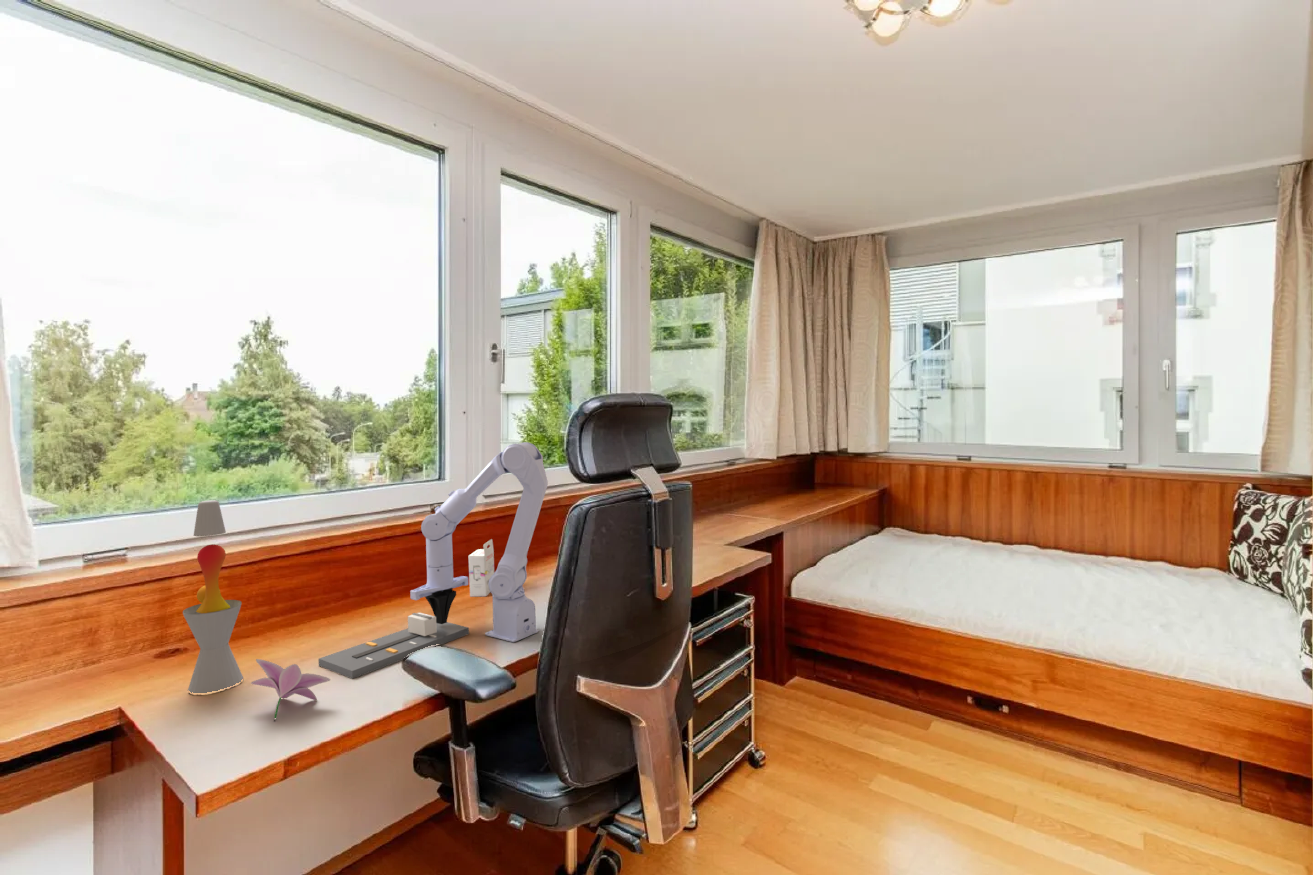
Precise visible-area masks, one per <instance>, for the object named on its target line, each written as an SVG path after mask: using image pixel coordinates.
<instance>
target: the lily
mask: <svg viewBox="0 0 1313 875" xmlns="http://www.w3.org/2000/svg"><path fill="white" fill-rule="evenodd" d="M255 661H256V663H257V665H259V667H260V668H261V669H262V670H263V672H264V673H265V675H266V677H263V678H258V679H256V680H253V681H252V682H250V684H251V685H255V686H261V687H267V688H272V689H275V691H276V693H277V696H278V697H279V699H278V701H277V703H276V708H275V713H274V717H273V719H274V718H276V719H277V716H278V710H279V706H280V703H281V701H282V699H281V698H286V699H288V698H289V697H291V696H293V695H299V696H302V697H305V698H307V699H310V700H313V701H318V699H317V697H316V694H315V693H314V692H313V690H311V689H310V688H311V687H314V686H317V685H319V684H323V683H326V682H330V681H331V678H330V677H327V676H323V675H320V674H315V673H302V671H301V668H300V667H299V665H298V664H296V663H293V664H291V665H288V666H287V667H285V668H284V667H282V666H281V665H279V664H277V663H275V662H272V661H269V660H266V659H265V660H264V659H259V658H257V659H255Z"/></svg>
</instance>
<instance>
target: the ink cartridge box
mask: <svg viewBox="0 0 1313 875" xmlns="http://www.w3.org/2000/svg"><path fill="white" fill-rule="evenodd" d="M482 547H483V548H480V549H479V548H478V549H475V551H473V552H472V553H471V554H469V555H468V582H469V597H470V598H471V597H472V598H473V597H487V596H488V595H489V594H490V593H491V592H490V590H489V579H490V577H491V576H492V575H493V574H494V573H495V556H494V554H495V552H494V551H495V549H494V542H493V539H492V538H491V539H489V540H488V541H487V542H485V543H484V544H483V546H482Z"/></svg>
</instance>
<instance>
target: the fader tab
mask: <svg viewBox="0 0 1313 875" xmlns="http://www.w3.org/2000/svg"><path fill="white" fill-rule="evenodd" d="M407 628H408V632H412V633H415V634H419V635H422V636H427V635H430V634H433V633H436V632H437V630H436V617H435V616H434V615H431V614H426V613H423V612H413V613H411V614H410V615H407Z"/></svg>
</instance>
